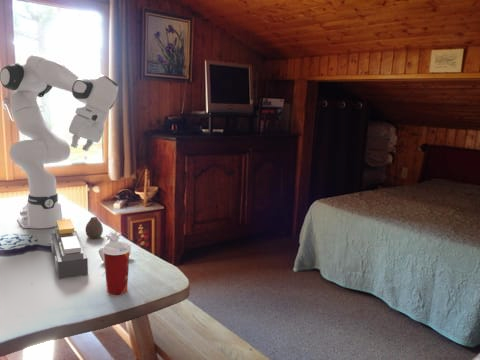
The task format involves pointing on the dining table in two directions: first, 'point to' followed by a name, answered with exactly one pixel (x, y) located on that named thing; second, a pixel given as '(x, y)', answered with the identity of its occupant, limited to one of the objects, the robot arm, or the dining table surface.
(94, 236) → the vase
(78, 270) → the power strip
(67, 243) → the white flat block
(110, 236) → the bust
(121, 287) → the coffee cup
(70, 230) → the amber switch
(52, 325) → the dining table surface
